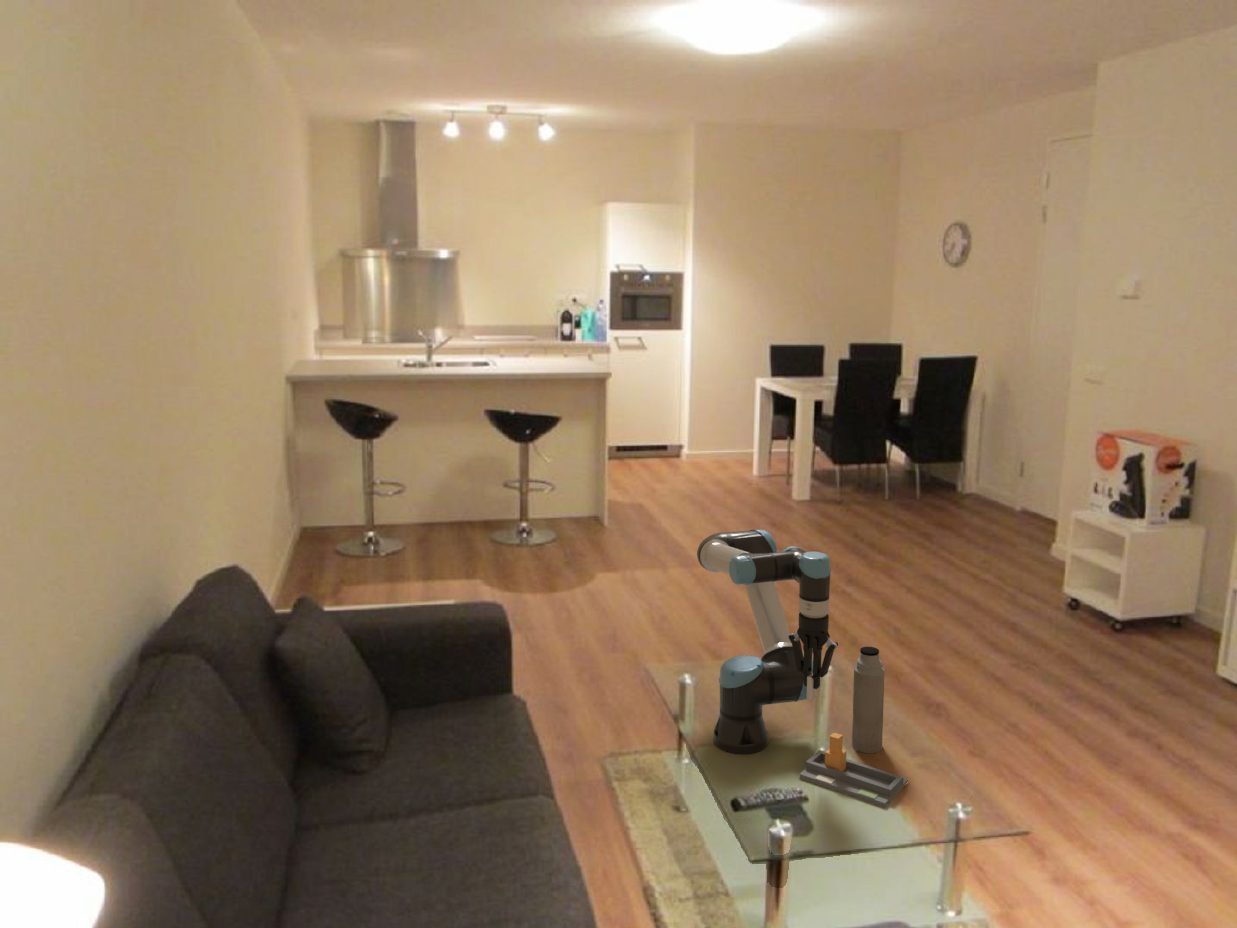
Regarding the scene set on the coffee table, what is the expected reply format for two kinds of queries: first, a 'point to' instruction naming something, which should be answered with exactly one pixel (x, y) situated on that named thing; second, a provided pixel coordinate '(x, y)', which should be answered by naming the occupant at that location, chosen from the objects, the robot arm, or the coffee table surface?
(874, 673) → the thermos bottle
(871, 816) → the coffee table surface
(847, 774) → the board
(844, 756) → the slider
